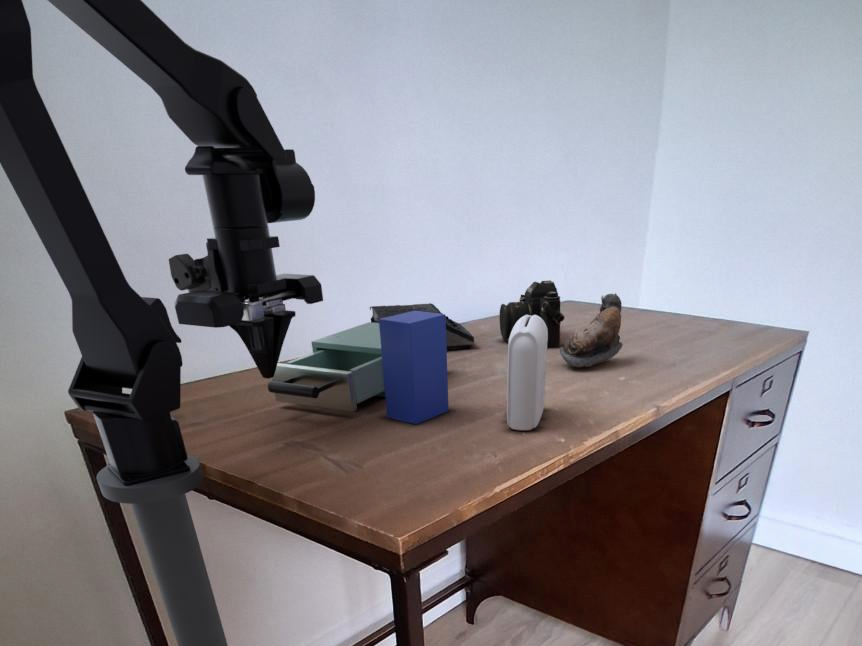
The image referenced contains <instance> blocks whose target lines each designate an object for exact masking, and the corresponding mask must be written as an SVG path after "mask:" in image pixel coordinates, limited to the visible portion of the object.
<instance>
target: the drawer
mask: <svg viewBox="0 0 862 646" xmlns="http://www.w3.org/2000/svg"><path fill="white" fill-rule="evenodd" d="M384 390H385V387H384V375H383V364H382V354H372V353H363V352H353V351H343V350H334V349H323V350H320V351H317V352H314V353H313V352H311V353H309V354H306V355H303V356H301V357H298V358H295V359H292V360H289V361H287V362H285V363H282V362H281V363H280V362H278V364H277V367H276V371H275V374H274V377H272V378H271V380H270V381H269V382H268V384H267V391H268V392H269V393H272V394H274V397H275V401H276V402H279V403H287V404H293V405H301V406H306V407H307V406H308V407H314V408H315V407H316V408H322V409H329V410H336V411H342V412H343V411H344V412H351V413H352V412H355V411H356V410H358V408H357V404H360V403H362V402H364V401H366V400H368V399H370V398H372V397H374V395H376V394H378V393H380V392H382V391H384Z"/></svg>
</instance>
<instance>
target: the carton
mask: <svg viewBox="0 0 862 646" xmlns="http://www.w3.org/2000/svg"><path fill="white" fill-rule="evenodd" d="M446 316H447V315H446V314H445V313H442V314H438V313H431V312H423V311H411V312H407V313H403V314H398V315H394V316H390V317H385V318H381V319H379V329H380V340H381V352H382V364H383V375H384V387H385V397H384V398H385V411H386V418H387V419H391V420H396V421H401V422H405V423H409V424H412V425H413V424H414V425H418V424H420V423H423V422H426V421H428V420H430V419H433V418H435V417H437V416H440V415H442V414H445V413H447V412H449V382H448V381H449V380H448V379H449V378H448V350H447V346H446Z"/></svg>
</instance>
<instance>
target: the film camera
mask: <svg viewBox="0 0 862 646" xmlns="http://www.w3.org/2000/svg"><path fill="white" fill-rule="evenodd" d="M525 315H530V316H533V315H537V316H539V317H541V318H542V319H543V321H544V322H545V324H546V327H547V330H548V341H547V348H551V347H559V346H560V341H561V324H562V322H563V321H564V320H565V315H564V314H563V313H562V311H561V296H559V292H558V288H557V287H556V285H555V282H554V281H552V280H551V279H549V280H541V281H540V282H537V281H533V282H532V283H531V284H530V285H529V287H527V288H526V289H525V292H524V294H520V298H519V301H509V302H508V303H507V304H505V303H502V304H500V307H499V330H500V335H501V339H502V340H503V341H508V340H509V337H510V334H511V331H512V329H513V327H514V325H515V324H516V322H517V321H518V320H519V319H520V318H521V317H523V316H525Z"/></svg>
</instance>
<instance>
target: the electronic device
mask: <svg viewBox="0 0 862 646" xmlns="http://www.w3.org/2000/svg"><path fill="white" fill-rule="evenodd" d="M369 310H370V311H372V315H371V317H370V322H372V323H379V319H381V318H385V317H390V316H394V315H398V314H403V313H407V312H411V311H423V312H431V313H438V314H443V313H442V312H441V311H440V309H439V308H437V306H436V305H435V304H434V303H432V302H430V303H429V302H428V303H417V304H416V303H415V304H407V305H406V304H404V305H403V304H402V305H400V304H396V305H376V306H375V305H373V306H369ZM445 316H446V346H447V351H449V350H459V349H469V348H471V347H472V346H473V345H474V342H475V337H474V336H473V335H472V334H471V332H470V331H468V329H466V328H465V327H464V326H463V325H462V324H461V323H459V322H457V321H454V320H453V319H451V318H449V316H448V315H445Z"/></svg>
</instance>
